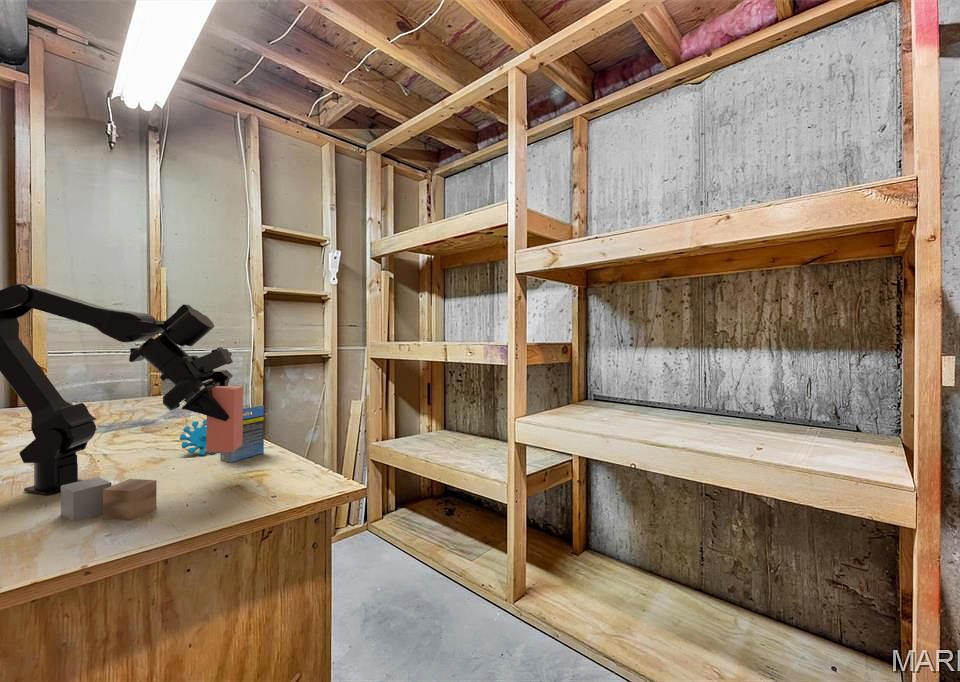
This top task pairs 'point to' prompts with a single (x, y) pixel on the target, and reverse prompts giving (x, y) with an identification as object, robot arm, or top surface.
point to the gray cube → (83, 498)
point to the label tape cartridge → (249, 436)
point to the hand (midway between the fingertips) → (232, 416)
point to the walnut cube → (129, 499)
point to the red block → (226, 432)
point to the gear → (195, 438)
